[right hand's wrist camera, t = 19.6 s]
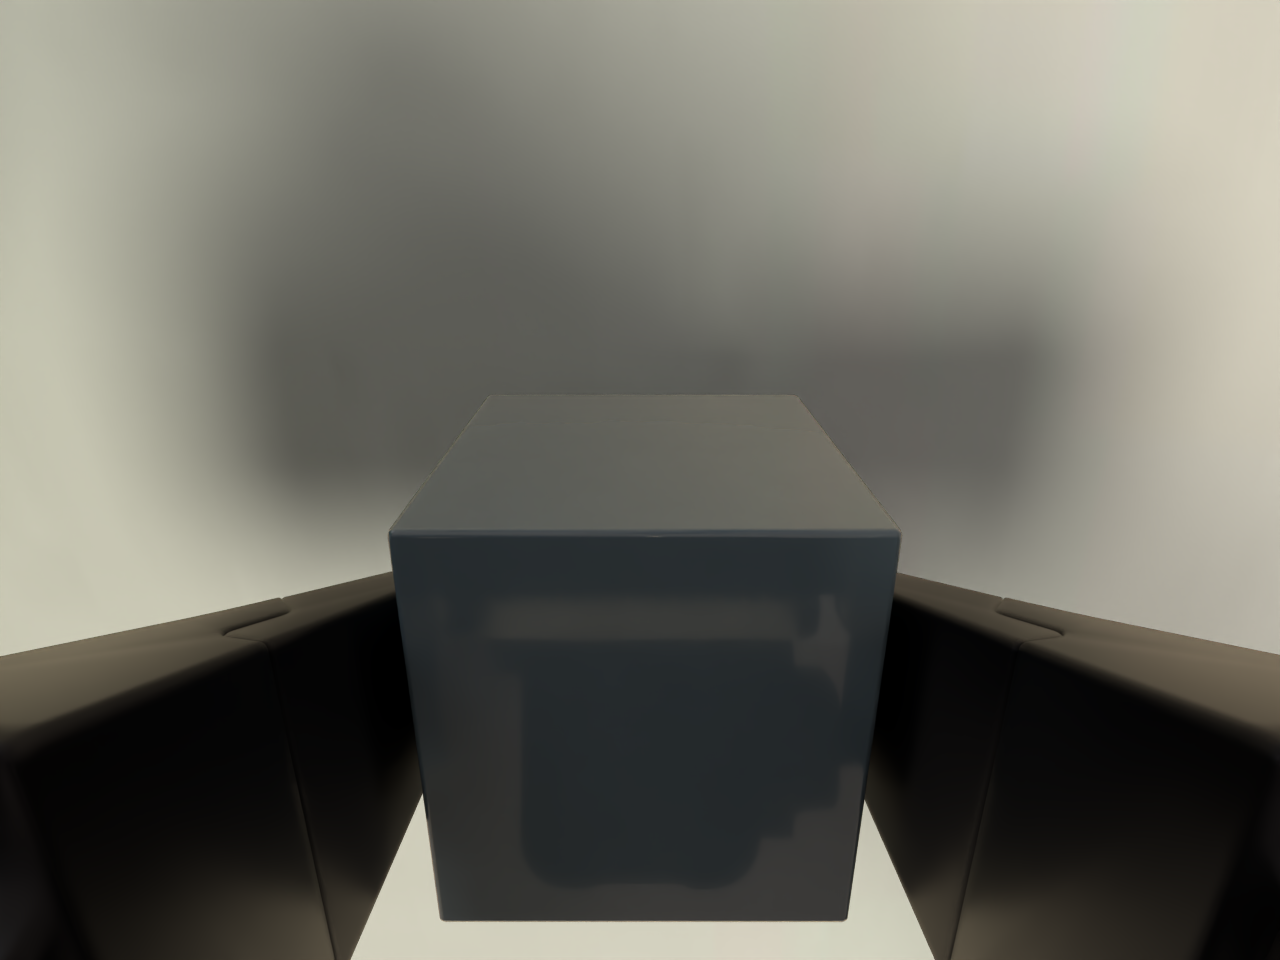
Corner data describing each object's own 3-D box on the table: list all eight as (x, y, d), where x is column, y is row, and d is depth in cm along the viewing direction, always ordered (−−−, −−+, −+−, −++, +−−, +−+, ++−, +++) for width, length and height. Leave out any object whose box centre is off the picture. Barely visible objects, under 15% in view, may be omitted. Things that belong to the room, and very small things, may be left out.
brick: (487, 392, 11) (383, 531, 7) (798, 393, 11) (906, 531, 7) (508, 668, 13) (438, 925, 9) (776, 669, 13) (848, 925, 9)
